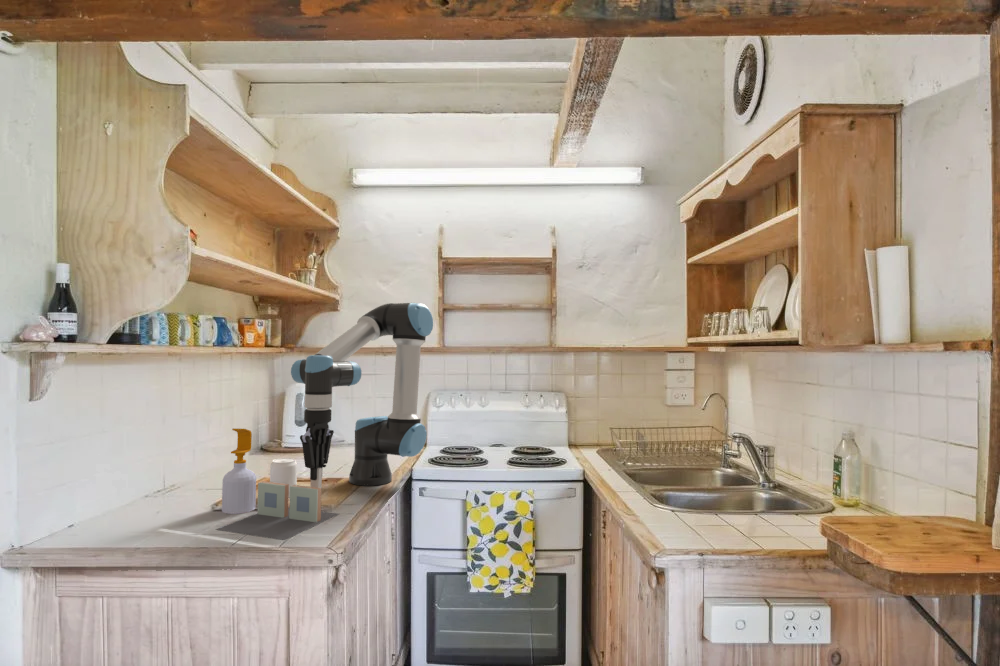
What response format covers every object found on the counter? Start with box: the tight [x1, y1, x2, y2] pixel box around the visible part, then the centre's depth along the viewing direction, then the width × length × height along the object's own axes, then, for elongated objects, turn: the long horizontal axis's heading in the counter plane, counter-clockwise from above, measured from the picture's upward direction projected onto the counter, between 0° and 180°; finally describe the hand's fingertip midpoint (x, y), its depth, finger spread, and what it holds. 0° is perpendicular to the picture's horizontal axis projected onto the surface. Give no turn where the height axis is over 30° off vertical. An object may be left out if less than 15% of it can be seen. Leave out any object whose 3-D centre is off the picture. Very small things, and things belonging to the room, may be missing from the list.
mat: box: [215, 508, 340, 541], centre depth 162 cm, size 24×22×1 cm
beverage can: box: [269, 457, 298, 499], centre depth 188 cm, size 8×8×12 cm
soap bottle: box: [221, 428, 257, 515], centre depth 173 cm, size 9×9×25 cm
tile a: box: [289, 484, 322, 522], centre depth 164 cm, size 2×9×9 cm, turn 71°
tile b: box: [256, 480, 289, 518], centre depth 167 cm, size 2×9×9 cm, turn 72°
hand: (315, 490), depth 169 cm, fingers closed
